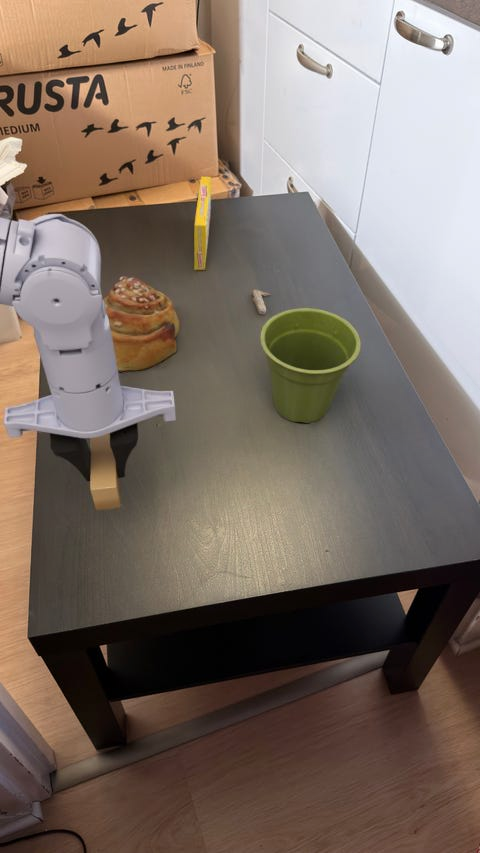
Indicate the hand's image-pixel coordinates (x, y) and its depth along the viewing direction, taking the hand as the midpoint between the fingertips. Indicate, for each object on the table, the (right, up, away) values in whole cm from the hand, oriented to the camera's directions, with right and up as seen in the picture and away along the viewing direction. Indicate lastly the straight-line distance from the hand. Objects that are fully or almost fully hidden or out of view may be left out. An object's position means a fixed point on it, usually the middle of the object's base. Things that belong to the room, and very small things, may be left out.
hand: (105, 471), depth 61 cm
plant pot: (+21, +7, +21) cm, 31 cm away
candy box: (+7, +36, +46) cm, 59 cm away
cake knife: (-1, +3, +5) cm, 6 cm away
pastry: (-2, +17, +30) cm, 35 cm away
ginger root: (+17, +23, +35) cm, 46 cm away
